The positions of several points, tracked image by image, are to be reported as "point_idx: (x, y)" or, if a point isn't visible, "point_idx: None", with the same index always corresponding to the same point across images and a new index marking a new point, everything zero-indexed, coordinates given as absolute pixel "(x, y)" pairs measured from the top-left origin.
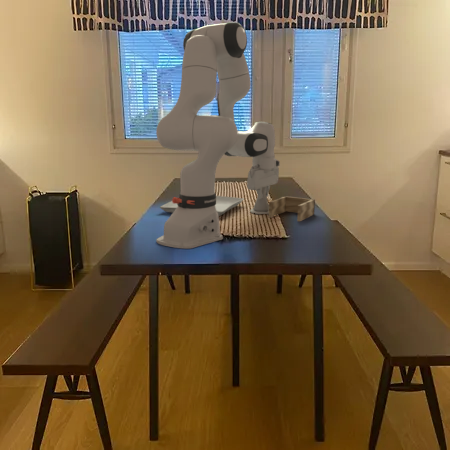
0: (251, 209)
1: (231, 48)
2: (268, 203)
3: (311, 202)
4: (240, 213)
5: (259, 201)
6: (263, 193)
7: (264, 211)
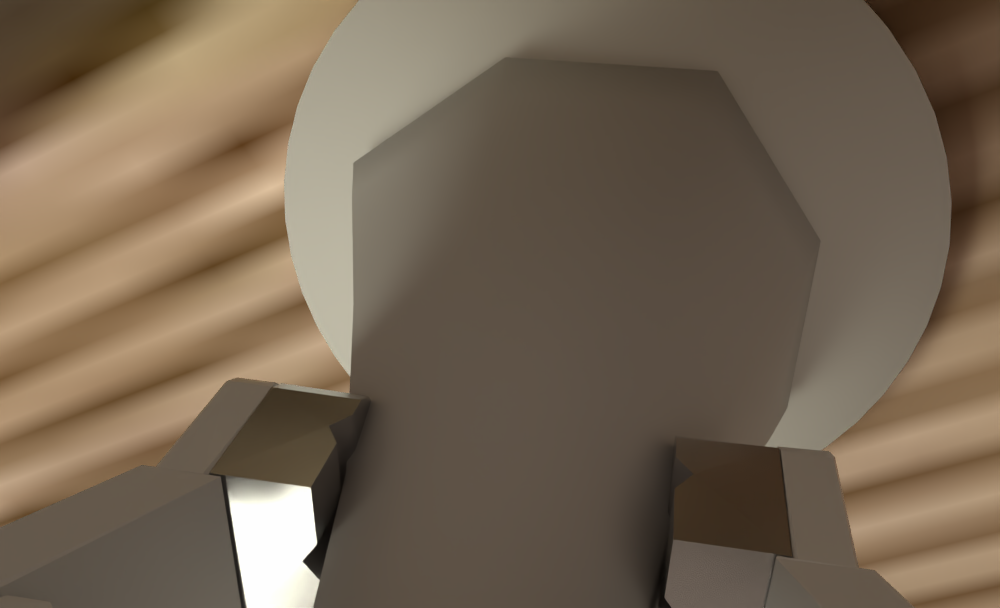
0: None
1: None
2: (488, 186)
3: None
4: (982, 589)
5: None
6: (586, 558)
7: None
